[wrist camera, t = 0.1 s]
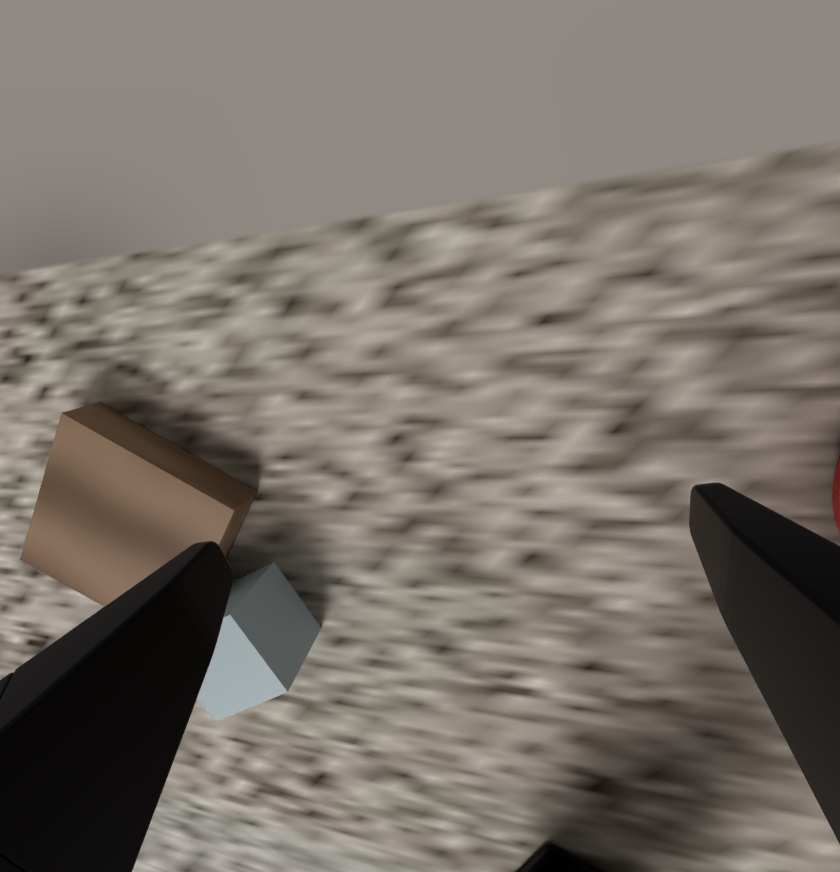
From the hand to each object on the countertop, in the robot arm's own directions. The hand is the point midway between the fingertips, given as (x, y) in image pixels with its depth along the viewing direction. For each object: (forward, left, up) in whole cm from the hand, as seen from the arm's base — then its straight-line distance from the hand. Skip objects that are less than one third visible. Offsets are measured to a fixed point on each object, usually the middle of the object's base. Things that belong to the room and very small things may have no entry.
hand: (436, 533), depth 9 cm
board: (-16, +12, -15) cm, 26 cm away
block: (-18, +4, -16) cm, 24 cm away
